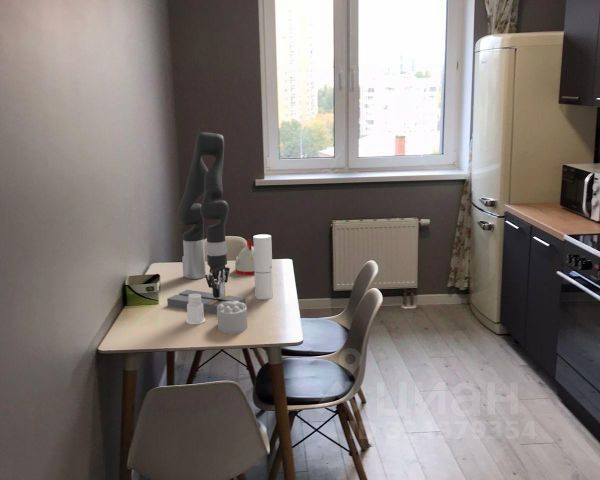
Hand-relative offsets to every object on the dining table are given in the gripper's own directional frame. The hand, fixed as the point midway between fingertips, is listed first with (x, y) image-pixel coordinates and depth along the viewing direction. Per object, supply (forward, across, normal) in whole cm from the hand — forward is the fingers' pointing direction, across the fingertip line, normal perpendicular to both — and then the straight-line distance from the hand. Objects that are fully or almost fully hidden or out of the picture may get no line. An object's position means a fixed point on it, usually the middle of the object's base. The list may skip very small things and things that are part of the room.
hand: (218, 295), depth 263 cm
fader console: (+5, 0, -6) cm, 7 cm away
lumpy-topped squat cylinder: (+5, +17, +17) cm, 24 cm away
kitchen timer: (+5, -51, -17) cm, 54 cm away
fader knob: (+5, 0, 0) cm, 5 cm away
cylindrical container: (+5, -19, +9) cm, 22 cm away
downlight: (+5, +17, +1) cm, 18 cm away
